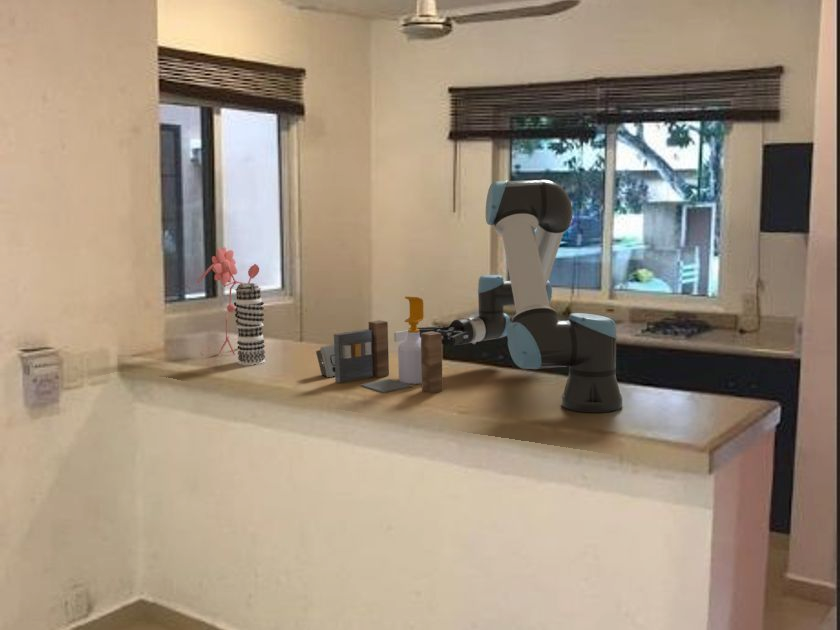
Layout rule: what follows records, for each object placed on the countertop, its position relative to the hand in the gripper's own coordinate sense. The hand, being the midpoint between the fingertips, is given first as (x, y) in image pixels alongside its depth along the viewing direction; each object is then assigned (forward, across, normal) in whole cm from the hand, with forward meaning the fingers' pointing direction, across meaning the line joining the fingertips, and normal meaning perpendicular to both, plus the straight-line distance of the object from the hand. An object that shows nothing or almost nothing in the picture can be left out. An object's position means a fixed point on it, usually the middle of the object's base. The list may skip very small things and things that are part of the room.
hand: (409, 340), depth 269 cm
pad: (+8, 0, -12) cm, 15 cm away
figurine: (+19, +77, -12) cm, 81 cm away
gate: (+2, 0, -12) cm, 12 cm away
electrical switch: (+12, +23, -12) cm, 28 cm away
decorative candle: (+22, +54, -12) cm, 60 cm away
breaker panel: (+11, +13, -12) cm, 20 cm away
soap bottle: (-1, 0, -12) cm, 12 cm away
